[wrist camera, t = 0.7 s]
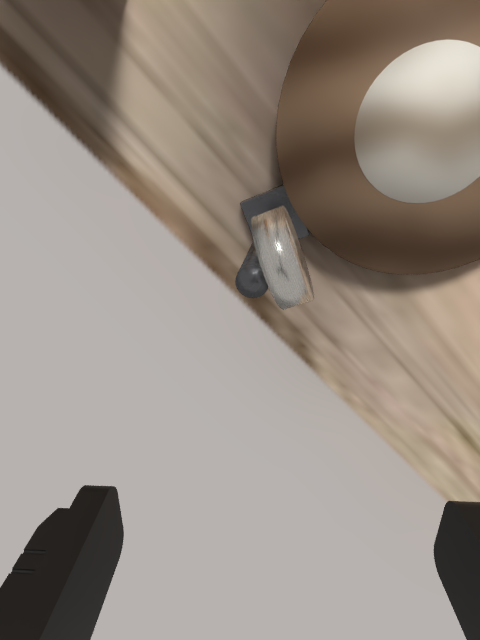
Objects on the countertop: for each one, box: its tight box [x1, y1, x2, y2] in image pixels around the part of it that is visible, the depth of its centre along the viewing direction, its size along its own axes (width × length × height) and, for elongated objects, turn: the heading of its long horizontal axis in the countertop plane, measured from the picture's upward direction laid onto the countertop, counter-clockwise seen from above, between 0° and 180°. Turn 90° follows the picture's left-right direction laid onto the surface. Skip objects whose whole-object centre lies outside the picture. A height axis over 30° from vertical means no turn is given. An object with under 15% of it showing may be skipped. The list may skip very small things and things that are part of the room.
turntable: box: [276, 0, 480, 274], centre depth 25 cm, size 19×19×2 cm
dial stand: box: [236, 185, 314, 310], centre depth 22 cm, size 4×4×15 cm
